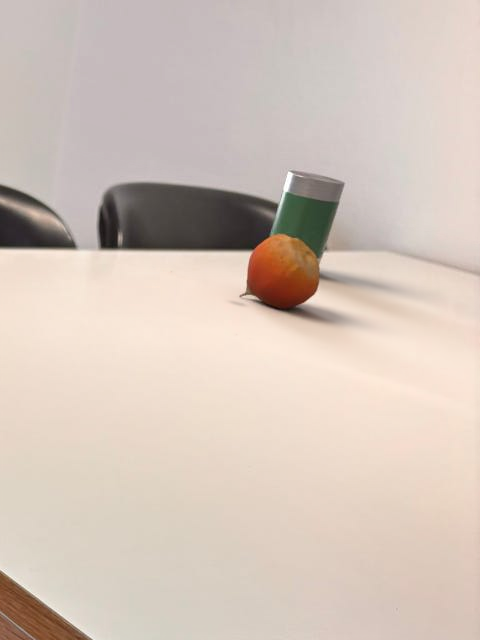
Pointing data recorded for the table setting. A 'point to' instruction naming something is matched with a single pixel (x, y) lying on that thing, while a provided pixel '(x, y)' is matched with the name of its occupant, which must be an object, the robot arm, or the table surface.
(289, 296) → the fruit
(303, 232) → the tin can
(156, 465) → the table surface
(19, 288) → the table surface
